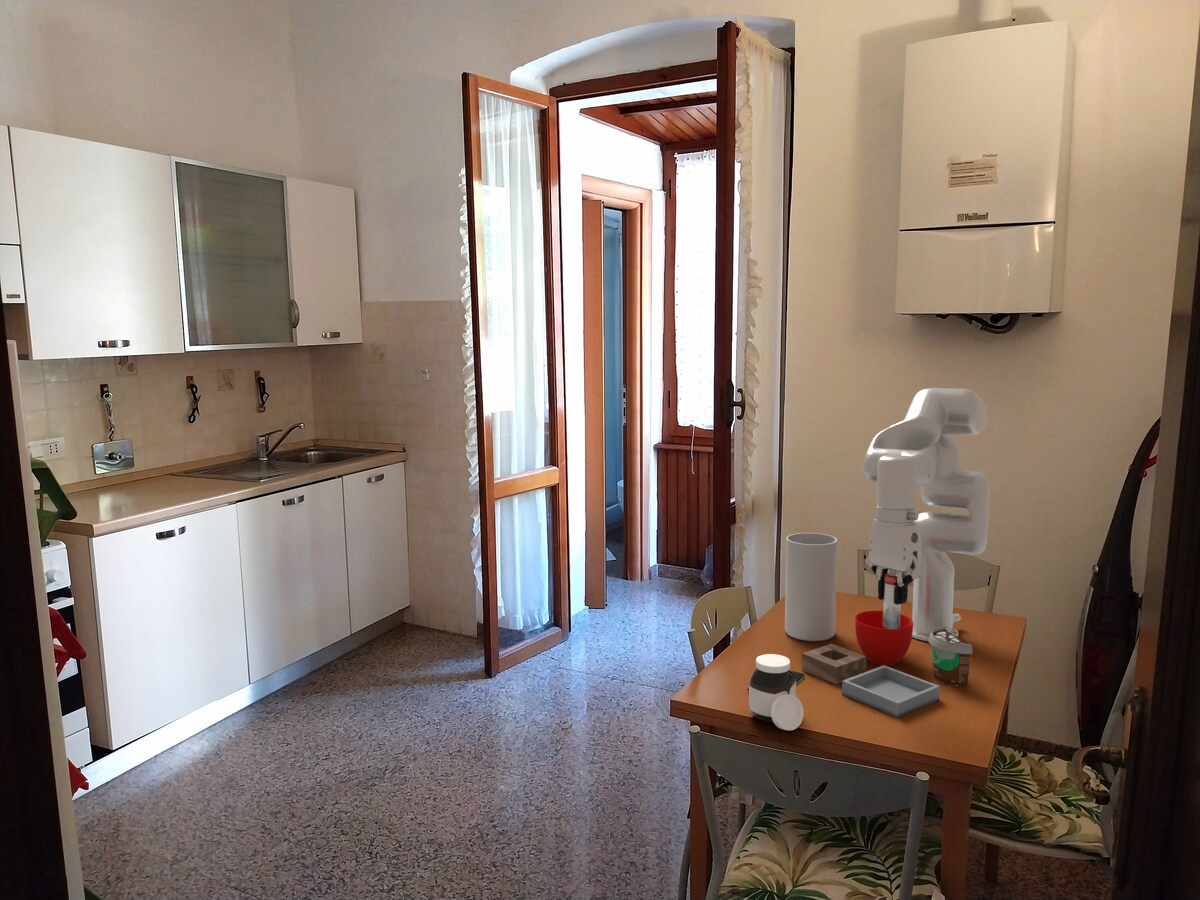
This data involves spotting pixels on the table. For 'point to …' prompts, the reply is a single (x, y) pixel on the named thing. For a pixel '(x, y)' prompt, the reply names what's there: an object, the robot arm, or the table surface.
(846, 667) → the walnut socket block
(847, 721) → the table surface
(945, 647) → the food container
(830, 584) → the cylinder vase
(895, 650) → the red bowl
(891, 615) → the steel pin
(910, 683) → the slate tray
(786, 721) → the jar and lid
